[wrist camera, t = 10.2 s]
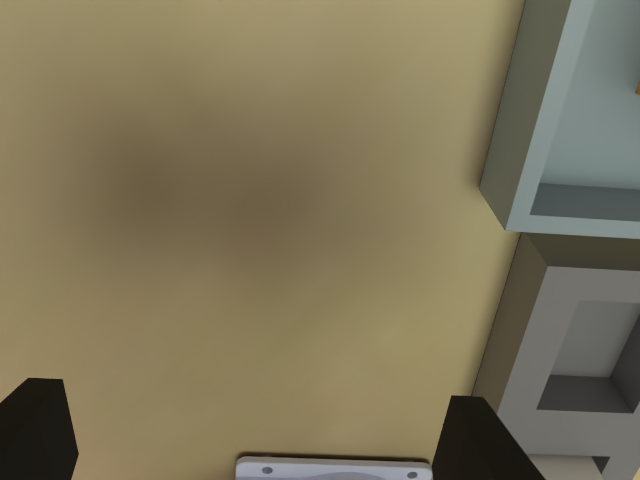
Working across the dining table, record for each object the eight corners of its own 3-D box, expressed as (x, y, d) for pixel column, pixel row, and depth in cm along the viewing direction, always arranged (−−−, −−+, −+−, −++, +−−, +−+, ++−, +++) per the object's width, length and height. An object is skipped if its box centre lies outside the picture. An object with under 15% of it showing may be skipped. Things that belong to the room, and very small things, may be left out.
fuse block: (440, 497, 29) (451, 544, 26) (522, 229, 20) (548, 266, 18) (571, 501, 29) (592, 548, 27) (702, 240, 21) (748, 277, 19)
